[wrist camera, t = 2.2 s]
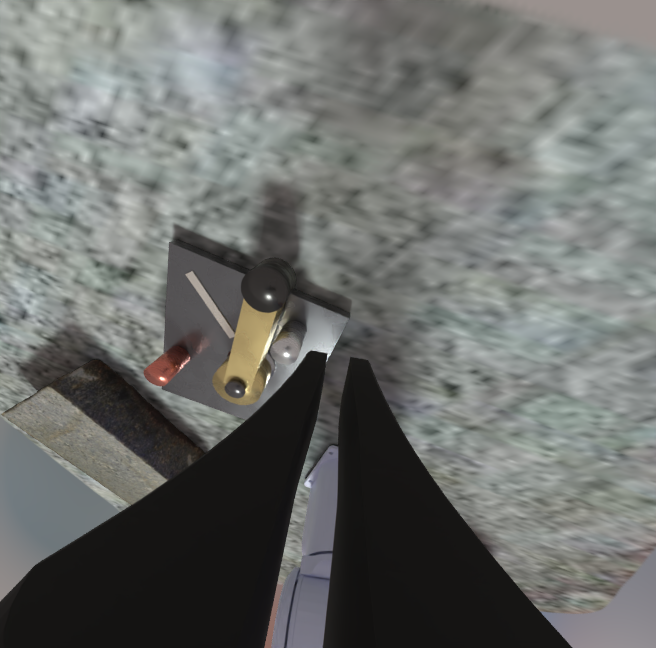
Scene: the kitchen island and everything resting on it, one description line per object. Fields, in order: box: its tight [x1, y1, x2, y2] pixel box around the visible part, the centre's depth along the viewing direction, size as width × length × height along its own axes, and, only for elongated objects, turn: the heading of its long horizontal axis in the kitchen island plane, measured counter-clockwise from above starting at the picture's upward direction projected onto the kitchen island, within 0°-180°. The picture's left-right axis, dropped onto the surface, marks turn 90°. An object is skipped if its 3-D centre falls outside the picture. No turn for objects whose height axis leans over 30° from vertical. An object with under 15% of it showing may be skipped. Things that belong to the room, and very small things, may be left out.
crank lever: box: [212, 258, 296, 405], centre depth 18 cm, size 12×4×3 cm, turn 158°
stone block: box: [1, 359, 206, 505], centre depth 29 cm, size 14×20×5 cm
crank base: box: [144, 240, 350, 420], centre depth 21 cm, size 16×14×4 cm
